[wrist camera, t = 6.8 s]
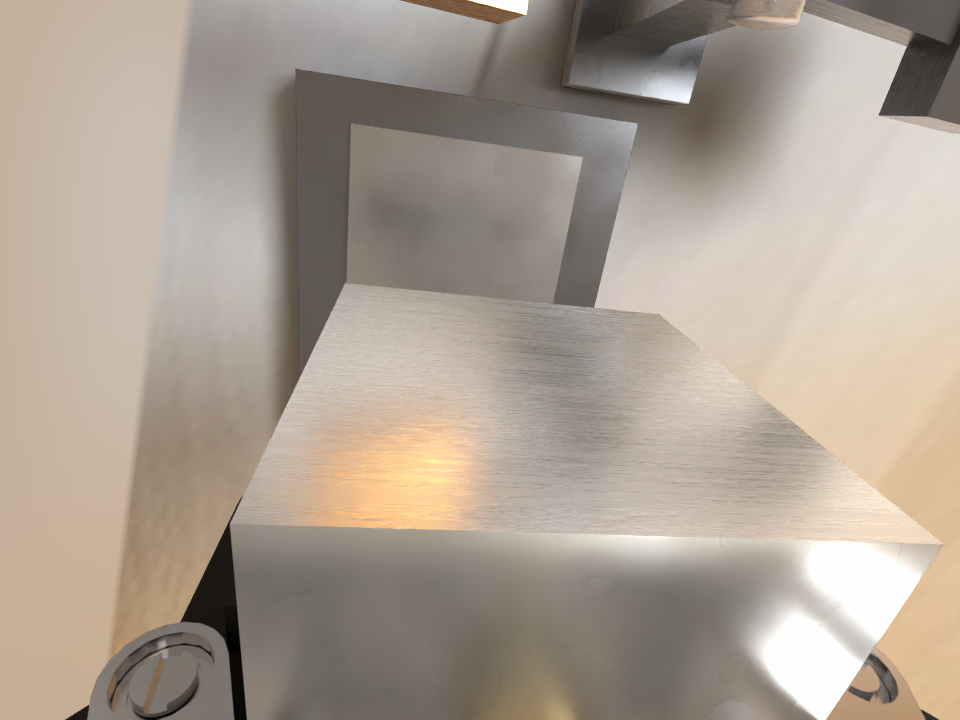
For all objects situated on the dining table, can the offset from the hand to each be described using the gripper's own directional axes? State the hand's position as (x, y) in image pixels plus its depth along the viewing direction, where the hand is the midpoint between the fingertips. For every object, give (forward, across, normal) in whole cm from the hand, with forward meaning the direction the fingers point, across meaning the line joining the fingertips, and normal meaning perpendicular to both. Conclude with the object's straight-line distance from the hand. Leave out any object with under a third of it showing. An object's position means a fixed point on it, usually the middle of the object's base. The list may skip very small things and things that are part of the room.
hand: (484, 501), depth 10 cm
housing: (+1, 0, 0) cm, 1 cm away
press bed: (+15, -1, -3) cm, 15 cm away
